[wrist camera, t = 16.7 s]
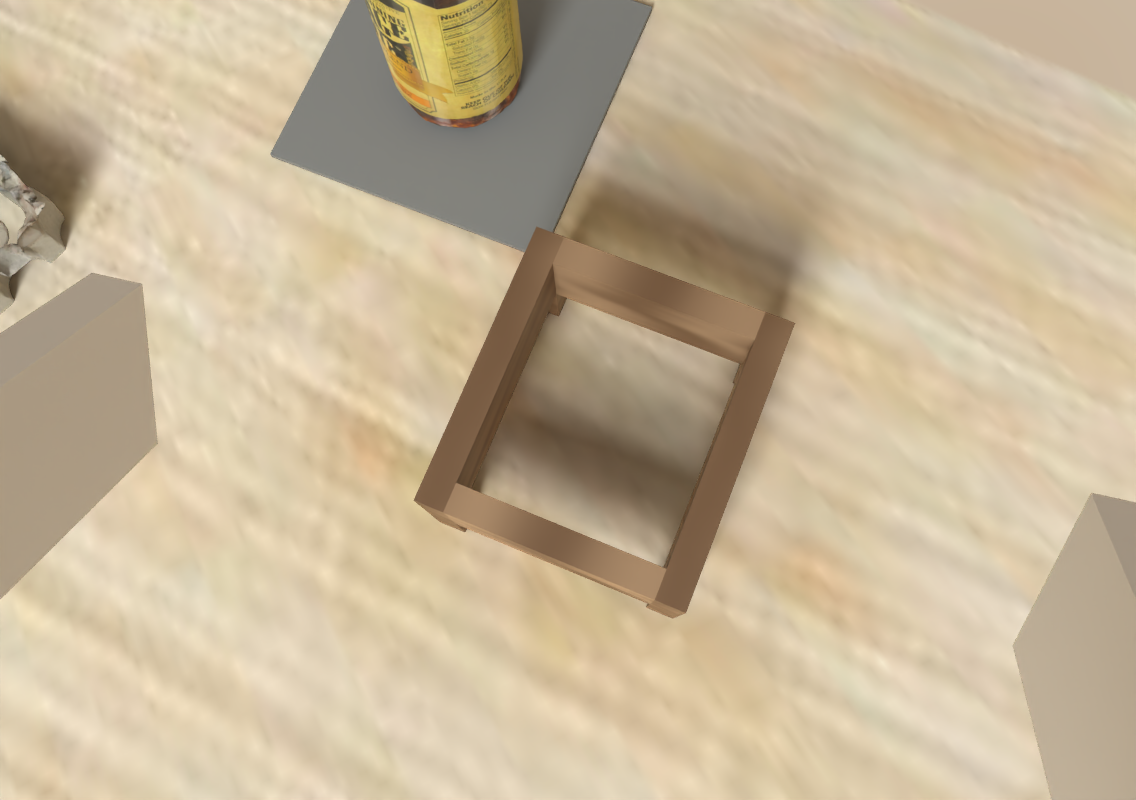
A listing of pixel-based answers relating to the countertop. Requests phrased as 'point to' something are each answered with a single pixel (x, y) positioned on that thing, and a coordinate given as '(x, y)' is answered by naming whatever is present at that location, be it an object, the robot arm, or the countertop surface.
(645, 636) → the countertop surface
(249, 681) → the countertop surface
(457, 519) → the wooden square frame
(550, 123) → the slate mat
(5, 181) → the egg carton
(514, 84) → the sauce bottle
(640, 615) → the countertop surface
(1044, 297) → the countertop surface
